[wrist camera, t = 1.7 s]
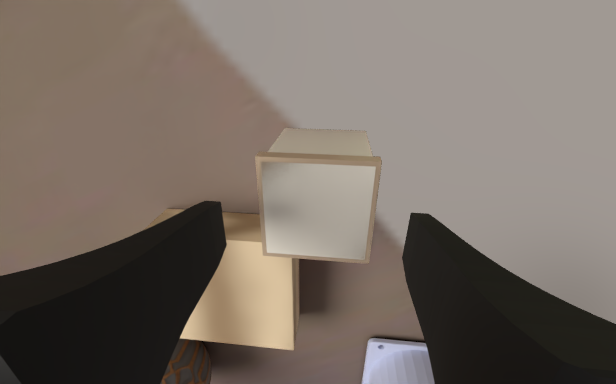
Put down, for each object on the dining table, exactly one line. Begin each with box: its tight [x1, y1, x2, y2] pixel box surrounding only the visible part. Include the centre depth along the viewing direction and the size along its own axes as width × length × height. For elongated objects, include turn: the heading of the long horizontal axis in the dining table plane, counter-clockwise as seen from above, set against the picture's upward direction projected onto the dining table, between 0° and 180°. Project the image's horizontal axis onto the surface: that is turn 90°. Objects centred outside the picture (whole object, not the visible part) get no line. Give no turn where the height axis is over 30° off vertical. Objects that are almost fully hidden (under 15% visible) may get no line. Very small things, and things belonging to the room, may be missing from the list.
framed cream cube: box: [255, 128, 382, 264], centre depth 15 cm, size 5×5×6 cm
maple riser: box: [144, 209, 299, 350], centre depth 20 cm, size 9×9×3 cm
